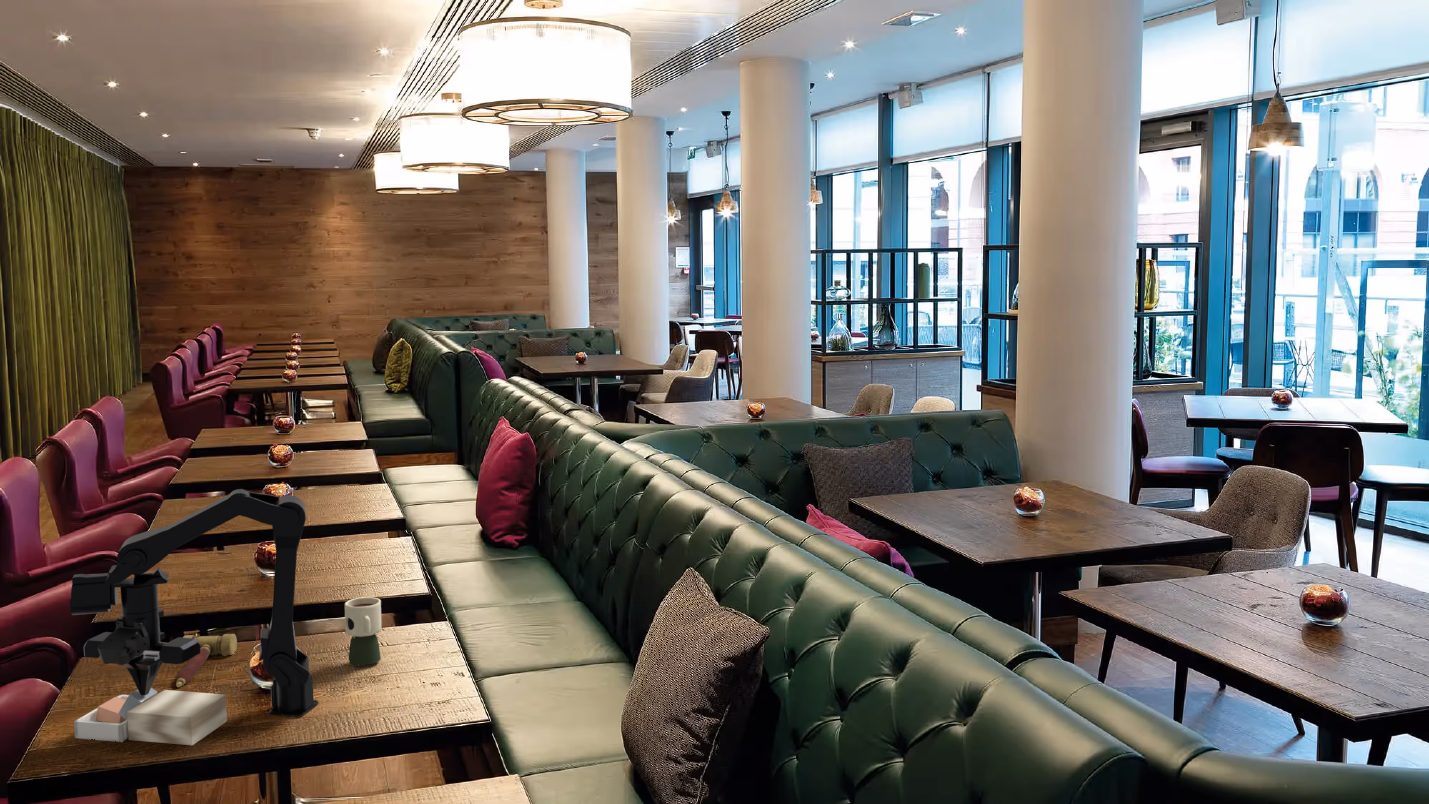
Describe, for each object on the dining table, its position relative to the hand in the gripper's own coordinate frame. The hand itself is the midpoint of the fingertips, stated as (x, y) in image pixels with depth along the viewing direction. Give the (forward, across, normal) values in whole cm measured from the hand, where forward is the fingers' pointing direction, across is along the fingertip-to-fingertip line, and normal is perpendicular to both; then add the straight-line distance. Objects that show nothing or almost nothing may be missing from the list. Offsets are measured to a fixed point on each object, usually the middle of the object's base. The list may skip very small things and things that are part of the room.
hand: (144, 694), depth 194 cm
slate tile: (+3, -1, +1) cm, 3 cm away
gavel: (+7, -8, +27) cm, 29 cm away
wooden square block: (+6, +6, 0) cm, 9 cm away
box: (+6, -5, 0) cm, 8 cm away
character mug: (+6, +23, +36) cm, 43 cm away
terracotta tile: (+3, -6, +1) cm, 7 cm away
